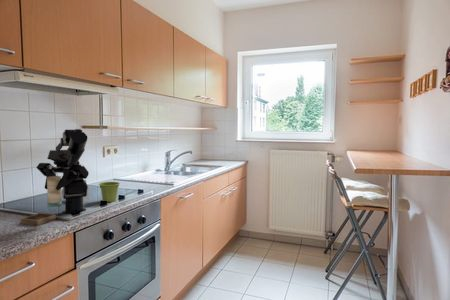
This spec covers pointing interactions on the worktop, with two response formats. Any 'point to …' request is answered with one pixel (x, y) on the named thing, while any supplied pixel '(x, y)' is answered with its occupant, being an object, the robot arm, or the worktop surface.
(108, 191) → the plant pot
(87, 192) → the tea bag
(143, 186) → the worktop surface
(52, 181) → the birch sleeve
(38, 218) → the walnut socket tray
